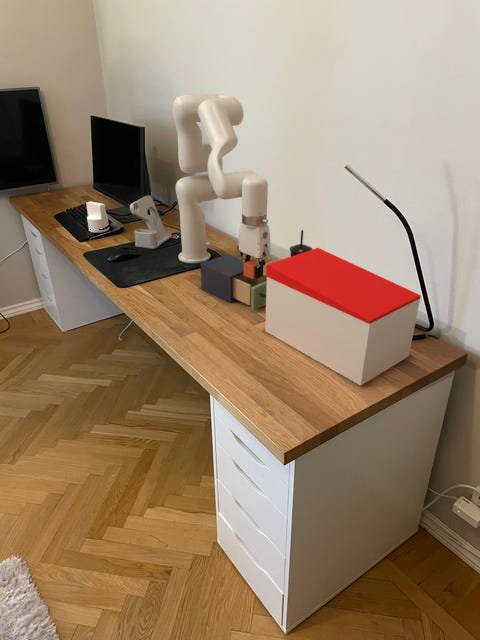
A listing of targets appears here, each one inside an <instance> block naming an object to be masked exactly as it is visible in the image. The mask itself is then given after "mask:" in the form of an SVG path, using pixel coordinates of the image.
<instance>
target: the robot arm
mask: <svg viewBox="0 0 480 640" xmlns="http://www.w3.org/2000/svg"><path fill="white" fill-rule="evenodd" d="M244 116H245V114H244V109H243V105H242V102H240V100H239V99H237V98H236V97H234V96H230V95H226V94H223V93H191V94H184V95H180V96H178V97H176V98H175V99H174V100H173V104H172V118H173V121H174V125H175V128H176V132H177V133H176V134H177V151H178V153H177V155H178V165H179V169H180V171H181V172H182V173H185V174H196V175H190V176H184V177H181V178H179V179H178V180H177V181H176V183H175V195H176V198H177V203H178V210H179V224H180V238H181V239H180V242H181V252H180V253H179V254H178V257H177V258H178V260H179V261H180V262H182V263H186V264H201V263H204V262H207V261H210V260H211V253H210V252H209V251H207V250H208V248H209V247H210V246H211V242H209V241H207V234H206V232H207V231H206V230H207V228H206V214H205V211H204V208H202V207H201V206H200V203H202V202H208V201H214V200H218V199H221V200H232V199H238V198H241V222H240V224H239V225H240V226H239V233H238V244H237V246H236V250H237V252H238V253H239V255H240V257H241V259H242V261H243V262H247V261H249V260H252V259H251V258H252V257H253V258H254V260H256V267H255V278H256V279H257V278H260V277H262V276H263V274H264V266H266V265H267V264H268V263H269V262H271V261H272V257H271V249H272V247H271V244H272V243H271V232H270V231H271V230H270V226H269V224H268V223H269V219H268V193H269V190H268V189H269V183H268V180H267V178H265V177H263V176H260V175H258V174H257V173H256V172H255V171H252V170H243V171H242V170H241V171H234V172H226V173H224V171H223V157H225V156H226V155H228V154H230V153H231V152H232V151H233V150H234V149H235V148H236V147H237V145H238V142H239V140H238V139H239V138H238V136H237V134H236V132H235V129H234V127H236V126H239V125H241V123H242V122H243V121H244ZM198 123H201V125H202V128H203V130H204V132H205V135H206V138H207V140H208V143H203V132H202V129H201V127H200V126H199V124H198ZM205 172H206V174H199V175H198V174H197V173H205ZM243 273H244V264H243Z"/></svg>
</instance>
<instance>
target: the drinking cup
mask: <svg viewBox="0 0 480 640" xmlns="http://www.w3.org/2000/svg"><path fill="white" fill-rule="evenodd" d="M303 240H304V229H301V231H300V243H297V244H294V245H291V246H290V247H289V252H290V257H291V256H294V255H298V254H301V253H304V252H307V251H310V250H313V249H314V248H313V247H312V246H310V245H307V244H304V243H303Z"/></svg>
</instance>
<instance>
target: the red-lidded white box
mask: <svg viewBox="0 0 480 640" xmlns="http://www.w3.org/2000/svg"><path fill="white" fill-rule="evenodd" d="M312 249H313V250H310V251H307V252H304V253H301V254H298V255H294V256H291V255H290V256H289V257H285V258H282V259H280V260H276V261H273V262H271V263H266V264H265V266H266V269H265V270H266V271H265V274H266V277H267V289H266V305H265V320H264V321H265V322H264V323H265V324H264V326H265V327H264V332H266V333H268V334H269V335H271V336H273V337H275V338H277V339H279V340H280V341H282V342H284V343H285V344H287V345H288V346H291V347H292V348H293V349H296V350H297V351H299V352H301V353H303V354H304V355H306V356H307V357H310V358H311V359H313V360H315V361H317V362H318V363H320V364H322V365H324V366H326V367H327V368H329V369H331V370H333V371H334V372H336V373H337V374H339V375H341V376H343V377H345V378H346V379H348V380H349V381H351V382H353V383H355V384H357V385H359V386H360V387H361V386H363V385H364V384H366V383H368V382H369V381H370V380H372V379H374V378H376V377H378V376H379V375H381V374H382V373H383V372H385V371H387V370H388V369H391V368H392V367H394V366H396V365H397V364H398V363H400V362H402V361H404V360H405V359H406V358H408V357H409V356H410V352H411V347H412V341H413V337H414V332H415V331H414V330H415V326H416V321H417V316H418V311H419V306H420V302H421V298H422V297H421V296H422V295H421V294H419V293H417V292H415V291H412V290H411V289H409V288H407V287H404V286H402V285H400V284H398V283H396V282H393V281H391V280H388V279H386V278H385V277H382V276H380V275H378V274H376V273H373V272H372V271H370V270H367V269H365V268H363V267H361V266H359V265H357V264H354V263H352V262H350V261H348V260H346V259H343V258H341V257H339V256H337V255H335V254H332V253H331V252H329V251H326V250H324V249H322V248H320V247H316V248H312Z"/></svg>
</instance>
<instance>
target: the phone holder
mask: <svg viewBox="0 0 480 640" xmlns="http://www.w3.org/2000/svg"><path fill="white" fill-rule="evenodd" d="M129 210H130V212H131V215H133V216H134V217H136V218H138V219H140V220H142V221H144V222H145V223H146V226H147V228H148V229H146V228H137V229H134V230H133V231H134V241H135V243H134V247H138V248H144V249H157V248H158V247H160V246H161V245H163V244H164V243H165V242H167V241H168V240H169V239H171V238H172V234H171V233H167V231H166V229H165V227H164V223H163V222H162V219H161V217H160V215H159V212H158V209H157V206H156V205H155V202H154V199H153V197H152V196H151V195H149V194H147V195H145V196H143V197H141V198H140V199H137V200H136V201H134V202H132V203H130V204H129ZM148 211H149V213H150V214H149V213H148Z"/></svg>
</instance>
